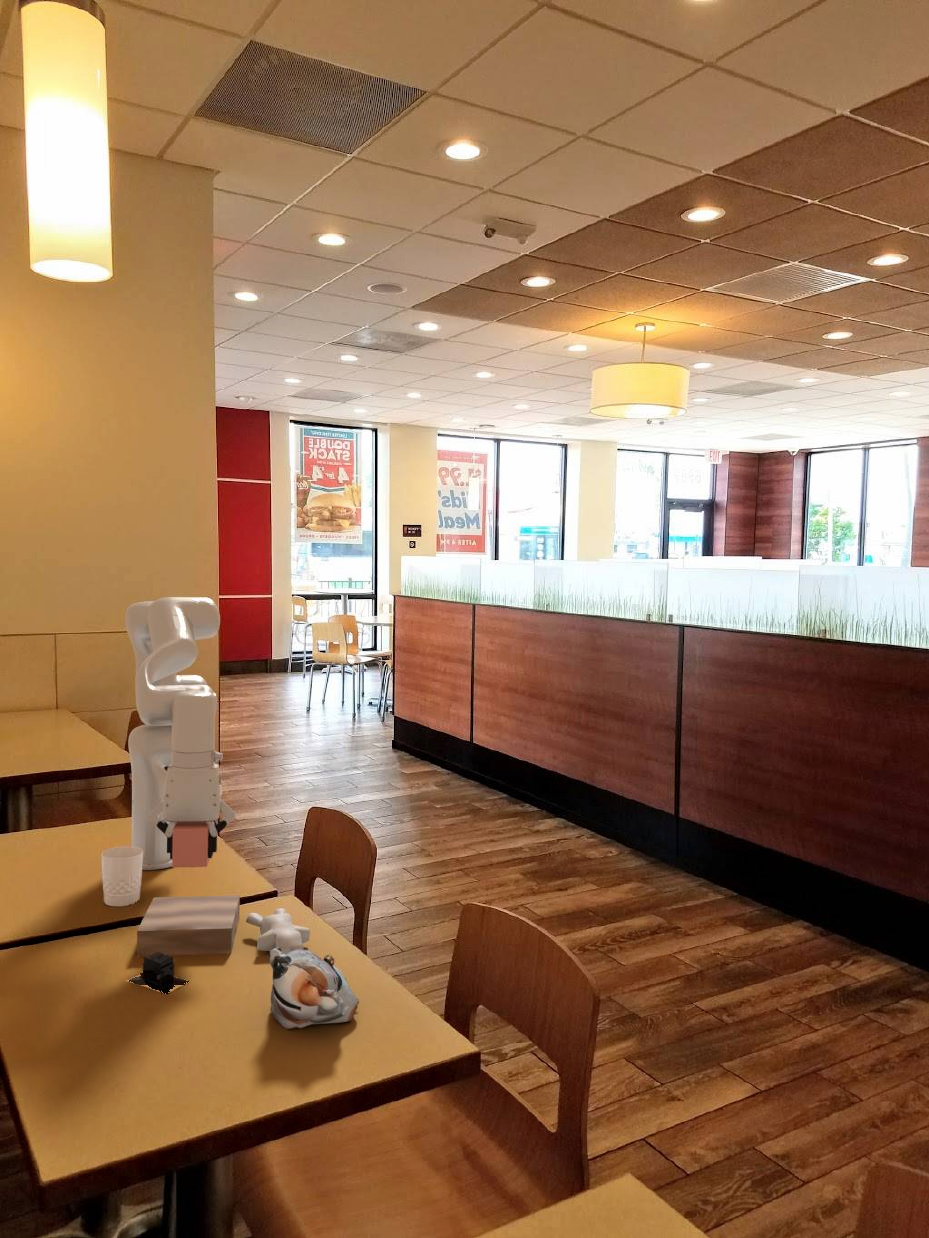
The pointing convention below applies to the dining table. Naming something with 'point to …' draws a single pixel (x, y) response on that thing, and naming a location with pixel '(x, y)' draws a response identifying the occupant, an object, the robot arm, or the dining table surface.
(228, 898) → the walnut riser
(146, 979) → the black boxy gadget
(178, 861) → the red block
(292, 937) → the bunny figurine
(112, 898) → the white cup
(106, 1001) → the dining table surface
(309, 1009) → the lucky cat figurine
